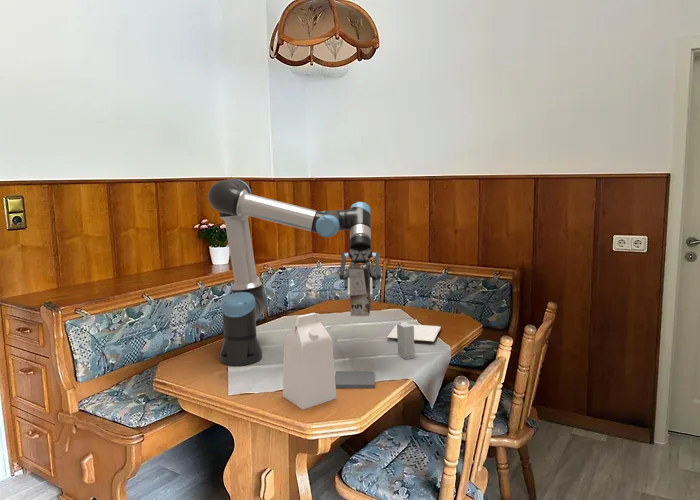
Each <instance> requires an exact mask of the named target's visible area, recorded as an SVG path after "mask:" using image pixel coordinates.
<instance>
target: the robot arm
mask: <svg viewBox="0 0 700 500" xmlns="http://www.w3.org/2000/svg"><path fill="white" fill-rule="evenodd" d="M207 199H208V202H209V205H210V206H211V208H212V209H214V211H217V212H218V213H219V218H220V219H221V220H222V221H224V225H225V230H226V238H227V243H228V244H227V245H228V248H229V249H228V250H229V254H230V262H231V267H232V273H233V280H234V284H233V285H232V287H231V293H229V294H227V295H226V296H224V297H223V299H222V301H221V312H222V313H221V315H222V326H223V327H222V328H223V329H222V330H223V342H222V344H221V349H220V354H219V361H220V363H221V364H224V365H225V366H231V367H232V366H235V367H237V366H239V367H240V366H247V365H252V364H254V363H257V362H259V361H261V359H262V358H263V350H262V346H261V345H260V342H259V339H258V337H257V320H258V319H259V318H260V317H261V316H262V315H263V314H264V313H265V311H266V309H267V308H268V303H269V301H268V300H269V299H268V295H267V293H266V291H265V290H264V287H263V283H262V282H261V281H260V280H258V276H257V269H256V262H255V257H254V249H253V243H252V236H251V231H250V230H251V229H250V224H249V217H251V218H252V217H253V218H256V219H259V220H263V221H268V222H272V223H277V224H280V225H284V226H286V227H287V226H288V227H291V228H295V229H300V230H304V231H308V232H311V233H315V234H318V235H319V236H320V237H323V238H331V237H333V236H335V235H336V234H337V233H338V232H341V231H349V250H348V252H343V251H342V252H341V253H340V257H341V263H340V267H339V281H340V280H341V281H344V289H346V290H347V299H350V279H349V269H350V267H351V265H357V264H369V271H370V298H371V299H373V289H374V290H375V289H376V288H377V284H376V281H377V280H378V281H379V280H381V279H382V274H381V273H382V272H381V267H380V266H381V265H380V258H381V255H380V252H379V251H377V252H373V251H372V238H371V237H372V214H371V211H372V210H371V206H370V205H369V204H367V203H366V202H365V201H356V202H355V203H352V205H351V206H350V209H349V208H348V209H341V210H339V209H338V210H337V209H336V210H324V211H317V210H315V209H310V208H307V207H302V206H300V205H295V204H291V203H287V202H285V201H284V202H283V201H279V200H275V199H271V198H269V197H264V196H259V195H256V194H252V191H251V188H250V186H249V185H248V184H247V183H246V182H245V181H243V180H241V179H237V178H230V179H224V180H223V179H221V180H218V181H216V182H215V183H213V184H212V185H211V187H209V190H208V192H207ZM348 258H350V259H351V261H350V262H349V265H348V268H347V270H346V271H345V269H346V261H347V260H348ZM371 258H372V259H373V260H374V262H375V265H374V266H375V271H376V272H374V269H373V267H372V264H371V261H370V259H371Z"/></svg>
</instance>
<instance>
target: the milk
mask: <svg viewBox="0 0 700 500" xmlns="http://www.w3.org/2000/svg"><path fill="white" fill-rule="evenodd" d="M333 345H334V344H333V340H332V337H331V336H330V334H329V332H328V331H327V329H326V328H325V326H324V325H323V324H322V322H321V320H320V318H319V316H318V314H317V313H316V312H311V313H307V314H301V315H297V317H296V321H295V323H294V326H293V328H291V329H290V330H289V332H288V333H287V334H286V335H285V337H284V340H283V367H282V368H283V371H282V373H283V374H282V375H283V377H282V378H283V379H282V397H283V398H285V400H287V401H290V403H292V404H294V405H295V406H297V407H298V408H299V409H301V410H305V409H306V410H307V409H308V408H312V407H315V406H318V405H321V404H323V403H327V402H330V401H333V400H336V399H337V388H336V385H335V372H336V371H335V362H334V361H335V359H334V348H333V347H334V346H333Z"/></svg>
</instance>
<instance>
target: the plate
mask: <svg viewBox="0 0 700 500" xmlns="http://www.w3.org/2000/svg"><path fill="white" fill-rule="evenodd" d="M410 324H411V325H413V326H414V343H415V342H417V343H418V342H419V343H426V344H427V343H434V342H435V340H436V338H437V335H438V333H439V332H440V330H441V327H442V326H438V325H425V324H415V323H414V324H413V323H410ZM386 338H387V339H390V340H395V341H398V339H397V323H396V324H395V325H394V327H393V328H392V329H391V331H390V332H389V334H388V335H387V336H386Z"/></svg>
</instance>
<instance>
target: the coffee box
mask: <svg viewBox="0 0 700 500" xmlns="http://www.w3.org/2000/svg"><path fill="white" fill-rule="evenodd" d="M370 278H371V277H370V271H369V264H362V263H358V264H356V265H351V267H350V269H349V279H350V298H349V300H350V301H349V302H350V317H369V316H370V313H371V312H372V311H371V310H372V298H370Z"/></svg>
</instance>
